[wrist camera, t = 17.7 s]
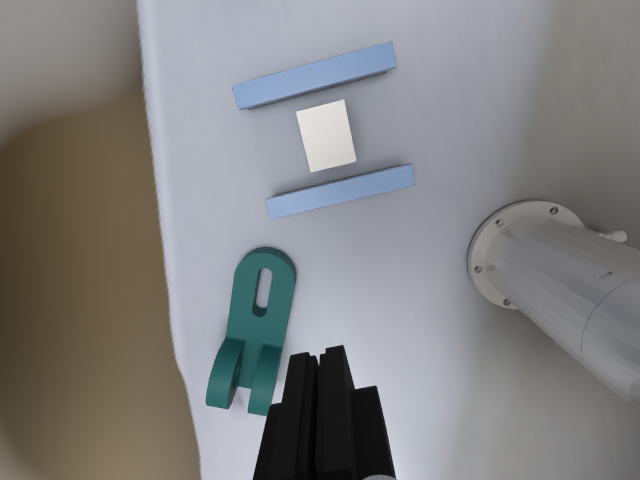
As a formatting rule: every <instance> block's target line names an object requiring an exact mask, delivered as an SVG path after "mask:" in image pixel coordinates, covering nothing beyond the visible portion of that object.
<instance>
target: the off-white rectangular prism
mask: <svg viewBox="0 0 640 480" xmlns="http://www.w3.org/2000/svg"><path fill="white" fill-rule="evenodd" d="M296 114H297V118H298V122H299V127H300V131H301V135H302V139H303V143H304V147H305V151H306V155H307V160H308V164H309V168H310V172H315V171H320V170H324V169H328V168H332V167H336V166H340V165H344V164H349V163H353V162H357V161H356V156H355V151H354V146H353V141H352V136H351V131H350V126H349V121H348V116H347V111H346V106H345V101H344V99H343V100H340V101H336V102H332V103H328V104H324V105H320V106H316V107H313V108H309V109H305V110H301V111H297V112H296Z"/></svg>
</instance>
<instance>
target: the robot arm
mask: <svg viewBox="0 0 640 480" xmlns="http://www.w3.org/2000/svg"><path fill="white" fill-rule="evenodd" d="M497 220H498V222H497V223H496V221H497ZM626 240H627V236H626V233H625V232H624V231H623V230H614V231H609V232H605V233H603V234H602V233H599V232H596V231H593V230H590V229H588V228H585V226H584V224H583V222H582V221H581V220H580V219H579V217H578V216H577V215H576V214H575V213H573V212H572V211H571V210H570V209H568V208H566V207H564V206H562V205H560V204H556V203H553V202H549V201H543V200H526V201H522V202H517V203H514V204H511V205H509V206H506V207H504V208H502V209H501V210H499V211H498V212H496V213H494V214H493V215H492V216H491V217H490V218H488V219H487V220H486V221H485V222H484V223H483V224H482V226H481V227H480V228H479V229H478V231H477V232H476V234H475V236H474V238H473V239H472V242H471V245H470V248H469V251H468V258H467V265H468V272H469V276H470V279H471V281H472V283H473V285H474V286H475V288H476V289H477V290H478V291H479V292H480V293H481V295H483V296H484V297H485V298H486V299H487V300H488V301H490V302H492V303H493V304H495V305H497V306H500V307H503V308H506V309H513V310H520V311H521V312H522V313H523V314H525V315H526V316H527V317H528V318H529V319H530V320H531V321H532V322H534V323H535V324H536V325H537V326H538V327H539V328H540V329H541V330H542V331H544V332H545V333H546V334H547V335H548V336H549V337H550V338H551V339H553V340H554V341H555V342H556V343H557V344H558V345H559V346H560V347H561V348H563V349H564V350H565V351H566V352H567V353H568V354H569V355H570V356H572V357H573V358H574V359H575V360H576V361H577V362H578V363H579V364H580V365H582V366H583V367H584V368H585V369H586V370H587V371H588V372H589V373H591V374H592V375H593V376H594V377H595V378H596V379H597V380H599V381H600V382H601V383H602V384H603V385H604V386H605V387H606V388H608V389H609V390H610V391H611V392H613V393H614V394H615V395H616V396H618V397H619V398H620V399H622V400H624V401H625V402H627V403H628V404H630V405H632V406H634V407H636V408H638V409H640V250H639V249H637V248H634V247H631V246H628V245H625V244H622V243H624V242H625V241H626ZM476 266H477V267H476ZM475 267H476V268H475ZM253 480H397V479H396V476H395V470H394V465H393V460H392V455H391V450H390V445H389V440H388V435H387V430H386V425H385V421H384V416H383V411H382V407H381V403H380V398H379V394H378V390H377V386H371V387H365V388H360V389H355V387H354V383H353V380H352V376H351V372H350V368H349V364H348V360H347V356H346V352H345V349H344V346H343V345H340V346H335V347H330V348H326V353H325V354H320V363H319V364H318V361H317V358H316V356H315V355H314V356H310V354H309V352H304V353H299V354H294V355H291V356H290V359H289V365H288V370H287V376H286V381H285V387H284V392H283V398H282V403H276V404H272V405H271V406H270V407H269V410H268V414H267V419H266V423H265V428H264V432H263V436H262V441H261V445H260V450H259V454H258V458H257V463H256V467H255V472H254V476H253Z"/></svg>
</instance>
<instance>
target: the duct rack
mask: <svg viewBox="0 0 640 480" xmlns="http://www.w3.org/2000/svg"><path fill="white" fill-rule="evenodd" d="M395 67H396V62H395V56H394V49H393V43H392V41H390V42H386V43H383V44H379V45H376V46H372V47H369V48H365V49H361V50H358V51H354V52H351V53H347V54H344V55H340V56H336V57H333V58H329V59H326V60H322V61H318V62H315V63H311V64H308V65H304V66H301V67H297V68H293V69H290V70H286V71H283V72H279V73H276V74H272V75H268V76H265V77H261V78H258V79H254V80H250V81H247V82H243V83H240V84H236V85H233V86H232V90H233V93H234V97H235V100H236V103H237V107H238V109H239V110H243V109H249V110H250V109H253V108H257V107H261V106H264V105H268V104H272V103H275V102H279V101H283V100H286V99H290V98H294V97H298V96H301V95H305V94H309V93H312V92H316V91H320V90H323V89H327V88H331V87H334V86H338V85H342V84H346V83H349V82H353V81H357V80H360V79H364V78H368V77H371V76H375V75H379V74H383V73H386V72H387V71H388V70H390V69H394V68H395ZM414 185H415V179H414V173H413V167H412V164H407V165H398V166H394V167H390V168H386V169H382V170H377V171H373V172H369V173H365V174H361V175H357V176H353V177H349V178H345V179H340V180H336V181H332V182H328V183H324V184H320V185H316V186H312V187H307V188H303V189H299V190H295V191H291V192H287V193H283V194H279V195H275V196H273V197H271V198H267V199H265V202H266V205H267V209H268V212H269V216H270V219H274V218H279V217H283V216H287V215H291V214H296V213H300V212H304V211H308V210H313V209H317V208H321V207H325V206H329V205H334V204H338V203H342V202H346V201H351V200H355V199H359V198H363V197H368V196H372V195H376V194H380V193H385V192H389V191H393V190H397V189H402V188H406V187H410V186H414Z"/></svg>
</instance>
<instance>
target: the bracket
mask: <svg viewBox="0 0 640 480" xmlns="http://www.w3.org/2000/svg"><path fill="white" fill-rule="evenodd" d="M262 268H268V269H270V270H271V271H272V274H273V277H272V283H271V289H270V295H269V301H268V307H267V308H260V307H258V306H257V305H256V297H257V290H258V284H259V278H260V271H261V269H262ZM295 282H296V270H295V266H294V264H293V262H292V261H291V259H290V258H289V257H288V256H287V255H286V254H285V253H283V252H282V251H280V250H277V249H274V248H269V247H263V248H257V249H255V250H252V251H251V252H249V253H248V254H247V255H246V256H245V257H244V258H243V259H242V261H241V262H240V264H239V265H238V267H237V268H236V271H235V274H234V281H233V289H232V296H231V304H230V311H229V319H228V326H227V334H226V337H225V340H224V342H223V343H222V345H221V347H220V349H219V351H218V354H217V356H216V359H215V361H214V364H213V368H212V371H211V375H210V378H209V383H208V387H207V394H206V405H207V406H213V407H218V408H224V409H229V408H230V406H231V403H232V401H233V398H234V395H235V393H236V390H237V387H238V386H239V387H244V388H250V389H251V394H250V399H249V405H248V413H251V414H257V415H262V416H267V414H268V410H269V407H270V406H271V403H272V398H273V394H274V389H275V384H276V380H277V375H278V369H279V364H280V359H281V354H282V349H283V344H284V338H285V333H286V328H287V323H288V318H289V313H290V307H291V302H292V297H293V292H294V287H295Z"/></svg>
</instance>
